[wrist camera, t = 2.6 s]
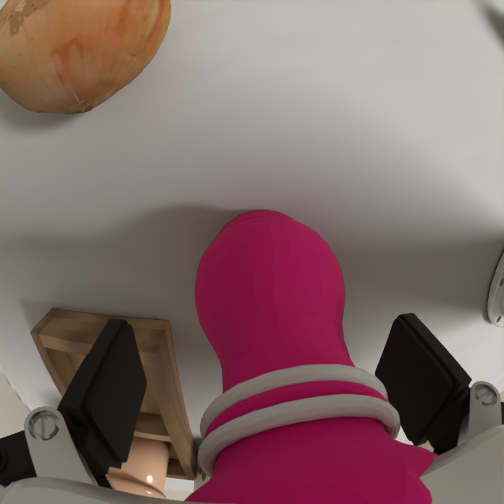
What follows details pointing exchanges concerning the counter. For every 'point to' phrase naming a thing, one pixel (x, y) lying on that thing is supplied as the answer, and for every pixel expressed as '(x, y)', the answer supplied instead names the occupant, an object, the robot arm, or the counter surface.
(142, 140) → the counter surface
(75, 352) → the caddy
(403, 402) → the robot arm
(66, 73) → the onion
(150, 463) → the salt crock
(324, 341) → the pepper mill
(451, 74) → the counter surface
